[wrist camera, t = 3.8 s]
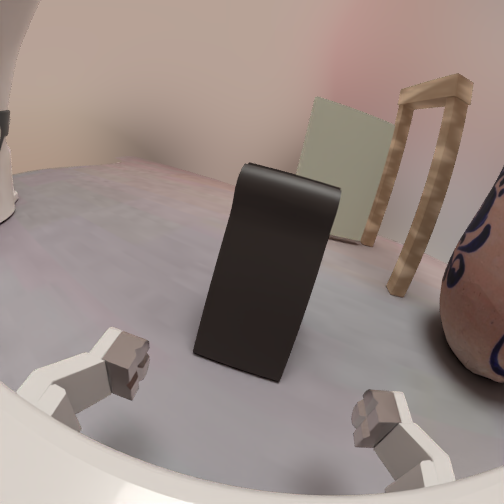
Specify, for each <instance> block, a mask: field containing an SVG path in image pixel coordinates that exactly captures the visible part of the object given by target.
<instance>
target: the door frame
mask: <svg viewBox="0 0 504 504" xmlns="http://www.w3.org/2000/svg"><path fill="white" fill-rule="evenodd" d="M473 84H474V83H473V82H472V81H470V80H468V79H467V78H465V77H463V76H462V75H460V74H459V73H457V74H453V75H449V76H445V77H442V78H438V79H434V80H431V81H427V82H424V83H420V84H417V85H414V86H411V87H408V88H404V89H401V92H400V97H399V102H398V105H399V109H398V113H397V117H396V121H395V129H394V133H393V137H392V141H391V145H390V148H389V152H388V156H387V159H386V163H385V166H384V170H383V173H382V176H381V180H380V183H379V186H378V190H377V193H376V196H375V199H374V202H373V205H372V208H371V211H370V214H369V217H368V220H367V223H366V226H365V229H364V232H363V234H362V237H361V240H360V241H361V243H362V244H363V245H367V246H370V247H373V244H374V241H375V239H376V236H377V233H378V231H379V228H380V225H381V222H382V219H383V216H384V213H385V211H386V208H387V205H388V201H389V199H390V195H391V192H392V189H393V186H394V182H395V180H396V176H397V173H398V169H399V166H400V162H401V159H402V155H403V152H404V148H405V144H406V140H407V136H408V132H409V128H410V124H411V119H412V116H413V111H414V110H415V109H424V108H433V107H445V109H444V114H443V119H442V124H441V128H440V133H439V137H438V141H437V145H436V149H435V153H434V156H433V160H432V164H431V167H430V171H429V174H428V178H427V181H426V184H425V187H424V191H423V193H422V196H421V199H420V203H419V205H418V209H417V211H416V214H415V217H414V220H413V222H412V225H411V228H410V230H409V233H408V236H407V238H406V241H405V243H404V246H403V248H402V251H401V253H400V256H399V258H398V261H397V263H396V265H395V268H394V270H393V272H392V275H391V277H390V279H389V281H388V283H387V286H386V287H387V289H388V290H389V292H390V294H391V295H396V296H400V297H404V295H405V293H406V291H407V289H408V287H409V285H410V283H411V281H412V279H413V277H414V274H415V272H416V270H417V268H418V265H419V263H420V261H421V259H422V256H423V254H424V252H425V249H426V247H427V244H428V242H429V239H430V237H431V234H432V232H433V229H434V226H435V224H436V221H437V218H438V215H439V213H440V210H441V207H442V204H443V201H444V198H445V195H446V192H447V189H448V185H449V182H450V179H451V175H452V172H453V168H454V165H455V161H456V157H457V153H458V149H459V145H460V141H461V137H462V132H463V128H464V123H465V118H466V113H467V107H468V105H470V104H471V98H472V91H473Z"/></svg>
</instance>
